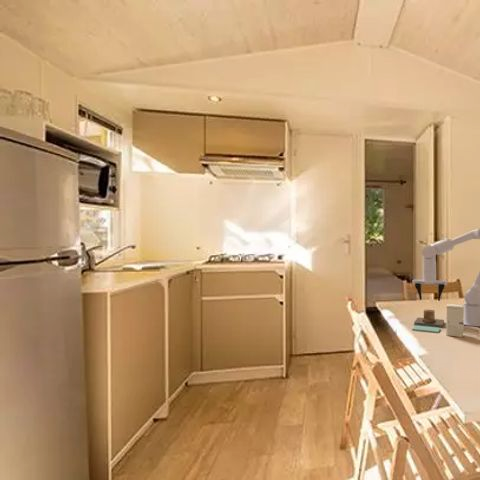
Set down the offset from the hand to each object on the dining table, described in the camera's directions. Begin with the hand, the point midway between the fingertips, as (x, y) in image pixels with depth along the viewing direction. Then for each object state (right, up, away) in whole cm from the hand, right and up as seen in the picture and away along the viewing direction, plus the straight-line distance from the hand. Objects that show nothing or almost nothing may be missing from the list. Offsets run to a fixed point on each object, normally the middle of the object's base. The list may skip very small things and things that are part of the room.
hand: (429, 300), depth 180 cm
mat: (-10, -10, -17) cm, 22 cm away
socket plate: (-3, -10, -6) cm, 12 cm away
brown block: (-3, -10, -6) cm, 12 cm away
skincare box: (-3, -10, -26) cm, 28 cm away
